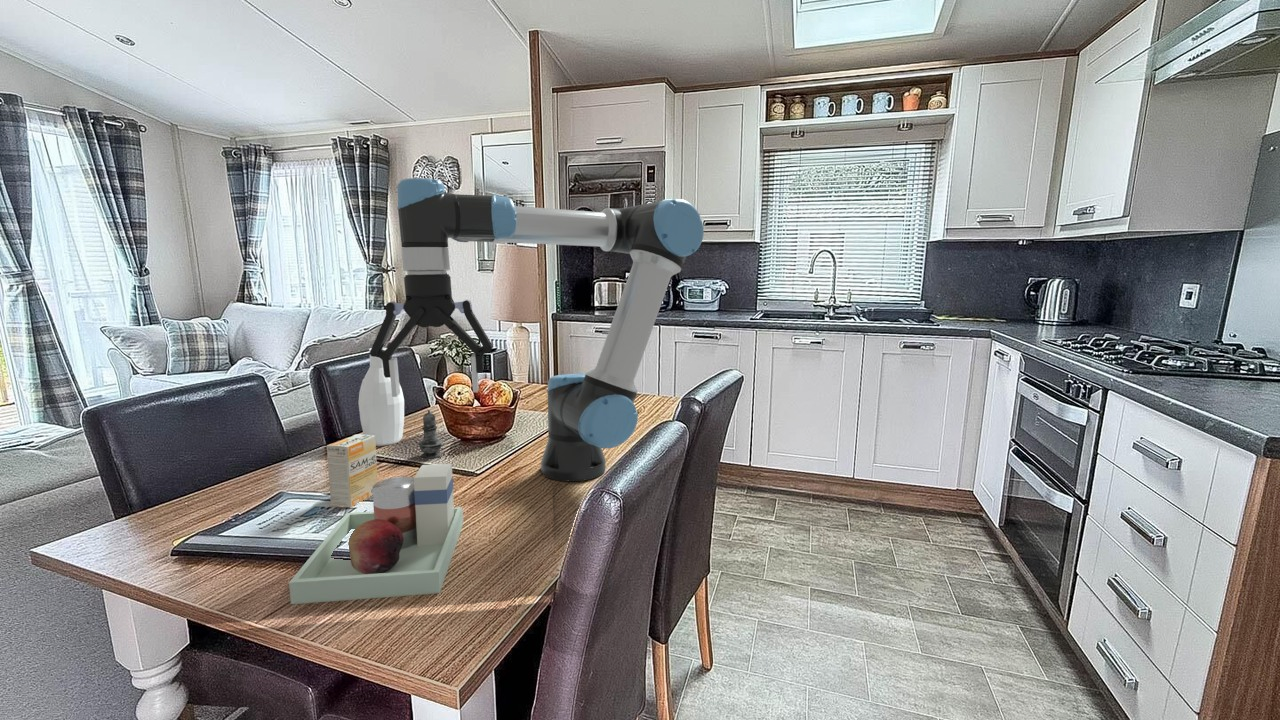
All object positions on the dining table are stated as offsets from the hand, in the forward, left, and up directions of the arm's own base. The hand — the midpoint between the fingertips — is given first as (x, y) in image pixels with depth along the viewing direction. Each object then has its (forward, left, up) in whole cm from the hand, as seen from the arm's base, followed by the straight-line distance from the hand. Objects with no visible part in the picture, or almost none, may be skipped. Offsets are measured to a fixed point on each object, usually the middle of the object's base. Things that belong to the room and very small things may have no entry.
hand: (436, 393), depth 98 cm
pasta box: (0, +7, -24) cm, 25 cm away
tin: (+6, +8, -24) cm, 26 cm away
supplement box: (+19, -11, -25) cm, 33 cm away
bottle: (+25, -52, -25) cm, 63 cm away
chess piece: (+10, -38, -25) cm, 47 cm away
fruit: (+6, +18, -24) cm, 31 cm away
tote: (+6, +14, -25) cm, 29 cm away
